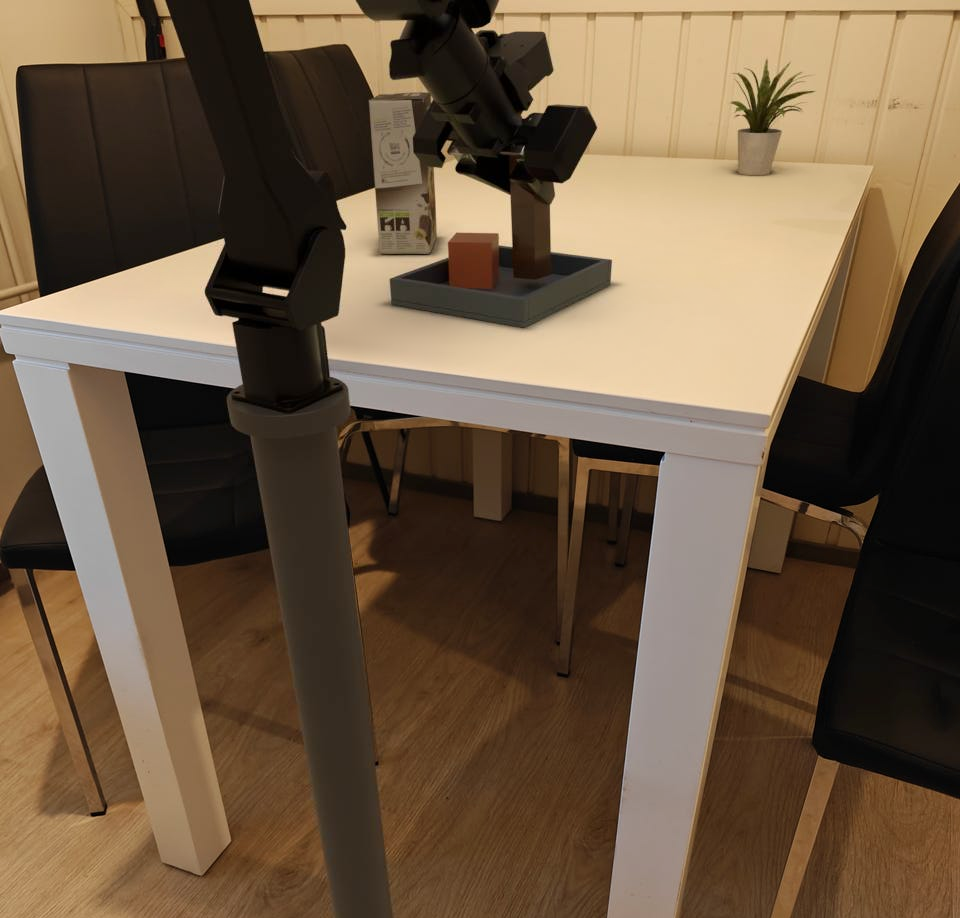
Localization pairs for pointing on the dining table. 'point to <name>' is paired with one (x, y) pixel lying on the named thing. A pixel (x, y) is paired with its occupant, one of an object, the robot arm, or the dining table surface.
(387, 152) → the coffee box
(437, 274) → the tray
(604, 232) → the dining table surface
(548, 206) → the tall brown rectangular pillar
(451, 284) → the block
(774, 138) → the house plant
